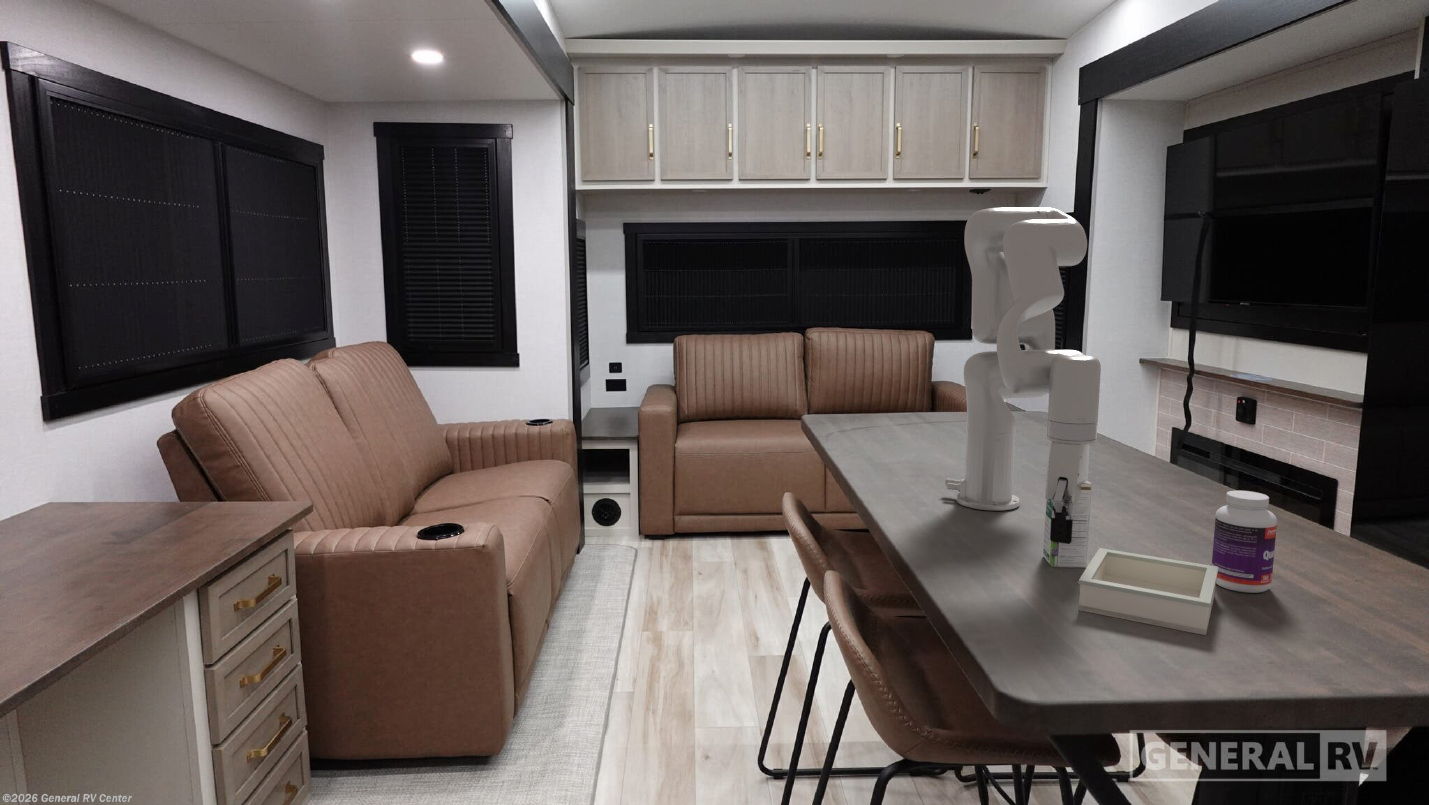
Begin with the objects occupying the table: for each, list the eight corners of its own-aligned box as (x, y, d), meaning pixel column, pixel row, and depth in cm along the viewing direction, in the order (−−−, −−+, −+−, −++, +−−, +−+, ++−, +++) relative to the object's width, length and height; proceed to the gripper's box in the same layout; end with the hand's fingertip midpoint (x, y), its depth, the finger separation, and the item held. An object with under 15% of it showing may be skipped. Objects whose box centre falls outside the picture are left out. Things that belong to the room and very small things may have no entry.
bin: (1076, 610, 124) (1078, 580, 123) (1097, 575, 137) (1099, 547, 137) (1207, 636, 115) (1210, 603, 114) (1216, 596, 128) (1218, 566, 128)
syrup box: (1041, 555, 147) (1045, 473, 144) (1077, 556, 146) (1082, 473, 144) (1051, 567, 141) (1055, 481, 139) (1088, 568, 140) (1093, 482, 138)
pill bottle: (1271, 599, 127) (1280, 505, 125) (1208, 589, 131) (1216, 497, 129) (1270, 582, 134) (1279, 492, 131) (1211, 572, 138) (1218, 485, 136)
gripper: (1059, 420, 149) (1054, 518, 152) (1035, 438, 135) (1029, 546, 138) (1106, 424, 145) (1099, 525, 148) (1086, 443, 131) (1079, 554, 134)
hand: (1066, 534), depth 143 cm, fingers closed on syrup box, 7 cm apart
